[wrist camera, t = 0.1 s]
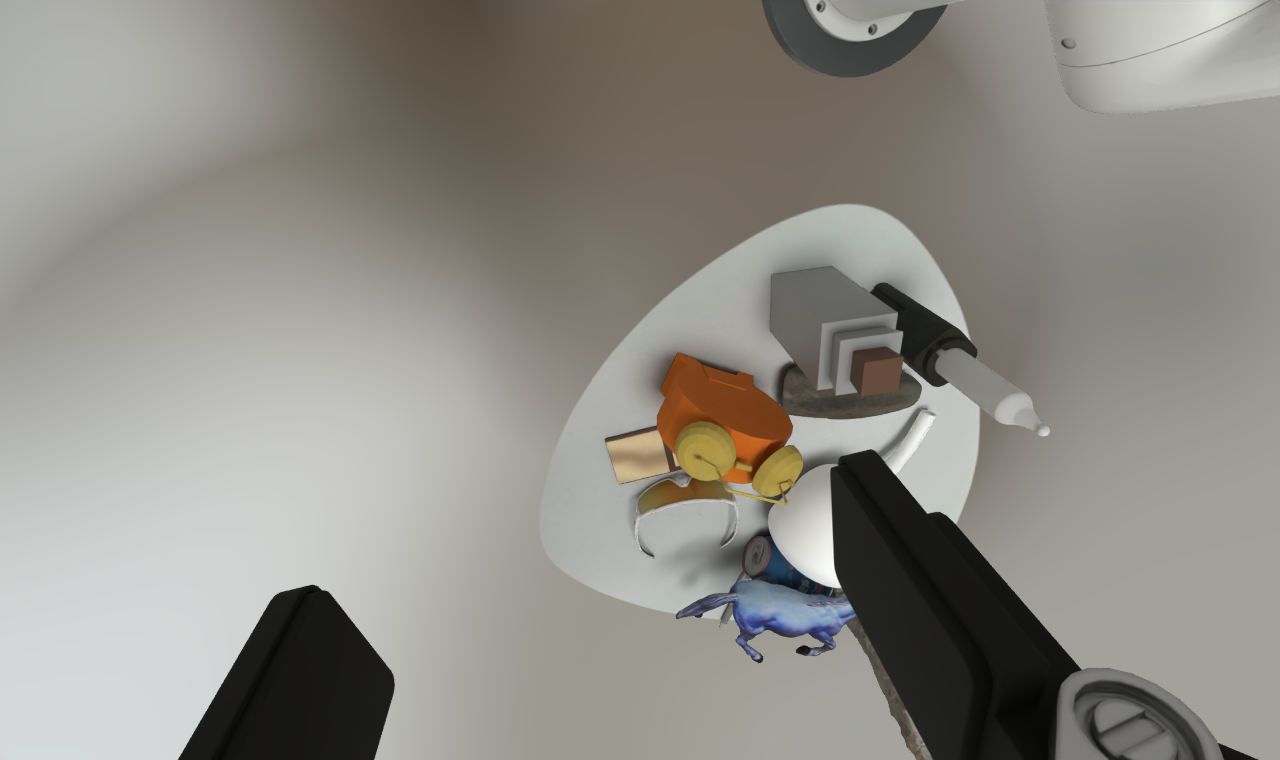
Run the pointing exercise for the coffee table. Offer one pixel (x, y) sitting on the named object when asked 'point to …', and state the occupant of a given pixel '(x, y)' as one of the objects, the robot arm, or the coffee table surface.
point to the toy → (778, 614)
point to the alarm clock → (727, 429)
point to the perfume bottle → (836, 331)
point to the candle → (955, 361)
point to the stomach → (824, 512)
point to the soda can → (777, 568)
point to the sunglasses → (682, 500)
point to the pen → (730, 607)
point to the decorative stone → (844, 399)
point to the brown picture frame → (640, 455)
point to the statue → (888, 689)
